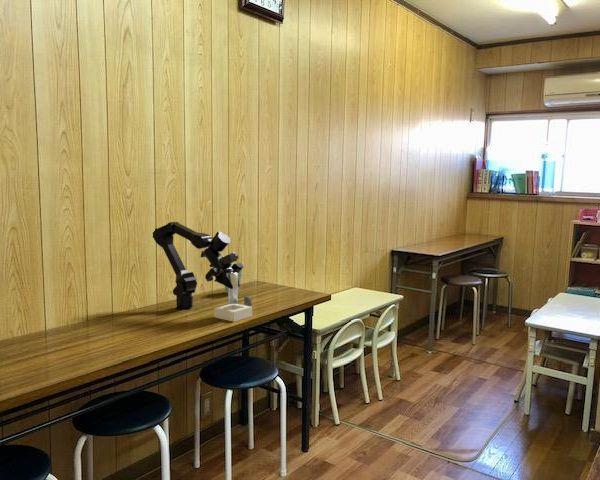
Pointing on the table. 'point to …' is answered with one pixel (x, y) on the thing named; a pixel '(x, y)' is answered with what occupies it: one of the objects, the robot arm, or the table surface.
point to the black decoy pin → (248, 301)
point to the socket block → (233, 312)
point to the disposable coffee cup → (238, 278)
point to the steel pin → (233, 292)
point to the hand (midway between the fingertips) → (235, 287)
